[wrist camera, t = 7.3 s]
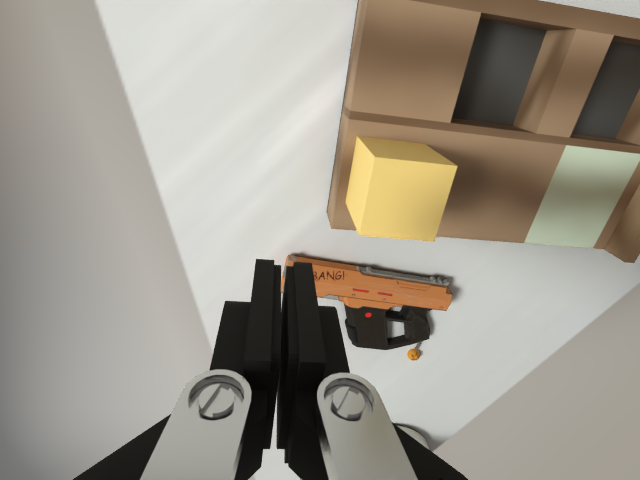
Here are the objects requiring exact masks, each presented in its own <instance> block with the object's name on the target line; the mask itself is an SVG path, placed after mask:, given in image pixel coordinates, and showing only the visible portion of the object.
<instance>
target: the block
mask: <svg viewBox="0 0 640 480" xmlns="http://www.w3.org/2000/svg"><path fill="white" fill-rule="evenodd" d="M456 170H457V165H455V164H454V163H452V162H451V161H449V160H448V159H446V158H445V157H443V156H442V155H440V154H439V153H437V152H436V151H434V150H433V149H431V148H430V147H429V146H427V145H426V144H421V143H413V142H404V141H395V140H387V139H378V138H370V137H361V136H357V138H356V144H355V150H354V156H353V161H352V167H351V173H350V179H349V184H348V190H347V196H346V202H345V203H346V205H347V208H348V210H349V212H350V215H351V217H352V220H353V222H354V225H355V227H356V229H357V232H358V234H359V236H369V237H383V238H396V239H409V240H422V241H435V238H436V234H437V231H438V228H439V225H440V221H441V218H442V215H443V212H444V208H445V205H446V202H447V199H448V196H449V192H450V189H451V186H452V183H453V179H454V176H455V173H456Z"/></svg>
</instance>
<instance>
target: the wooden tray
mask: <svg viewBox="0 0 640 480" xmlns="http://www.w3.org/2000/svg"><path fill="white" fill-rule="evenodd" d="M357 136H361V137H370V138H378V139H387V140H395V141H404V142H413V143H421V144H426V145H427V146H429V147H430V148H431V149H433V150H434V151H436V152H437V153H439V154H440V155H442V156H443V157H445V158H446V159H448V160H449V161H451V162H452V163H454V164H455V165H457V170H456V173H455V176H454V179H453V183H452V186H451V189H450V192H449V196H448V199H447V202H446V205H445V208H444V212H443V215H442V218H441V221H440V225H439V228H438V231H437V234H436V236H437V237H450V238H463V239H476V240H490V241H503V242H516V243H530V244H543V245H556V246H569V247H583V248H596V249H604V250H606V251H608V252H609V253H611V254H613V255H614V256H616V257H617V258H619V259H621V260H622V261H624V262H629V263H634V262H635V261H636V259H637V257H638V256H639V254H640V19H639V18H633V17H628V16H622V15H616V14H611V13H605V12H600V11H594V10H589V9H583V8H578V7H572V6H567V5H561V4H556V3H550V2H545V1H539V0H358V4H357V11H356V18H355V25H354V31H353V38H352V45H351V52H350V58H349V65H348V72H347V79H346V85H345V92H344V99H343V106H342V112H341V119H340V126H339V133H338V139H337V146H336V153H335V160H334V166H333V173H332V180H331V187H330V193H329V200H328V207H327V214H328V218H329V221H330V225H331V229H344V230H357V229H356V227H355V225H354V222H353V220H352V217H351V215H350V212H349V210H348V208H347V205H346V203H345V202H346V196H347V190H348V184H349V179H350V173H351V167H352V161H353V156H354V150H355V144H356V138H357Z"/></svg>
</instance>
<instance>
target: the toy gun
mask: <svg viewBox="0 0 640 480" xmlns="http://www.w3.org/2000/svg"><path fill="white" fill-rule="evenodd" d="M294 262H306V263H312V266H313V274H314V281H315V288H316V295H317V297H321V298H328V299H335V300H339V301H343V302H344V305H345V311H346V316H347V319H346V320H345V324H346V329H347V333H348V337H349V339H350V340H351V341H352V344H353V345H355V346H356V347H362V348H372V349H381V350H389V349H394V348H398V347H402V346H406V345H410V344H414V343H418V342H419V344H417V345H418V346H416V347H417V348H415V349H411V350H409V352H408V357H409V358H410V359H411V360H417V359H419V357H420V352H419V350H418V348H419V346H420V344H421V342H422V341H424V340H427V339H429V335H430V327H429V324H428V321H427V318H426V313H427V310H429V311H430V310H432V309H435V310H442V311H446V310H447V309H448V307H449V305H450V304H451V301H452V296H453V295H452V293H451V291H450V290H449V288H448V285H449V283H450V282H449V281H448V279H443V280H441V278H440V277H437V279H435V277H434V276H431V277H430V278H427V277H421V276H415V275H409V274H402V273H396V272H390V271H383V270H377V269H371V267H369V266H368V267H366V268H364V267H359V266H355V265H349V264H342V263H336V262H330V261H323V260H317V259H311V258H304V257H298V256H294V255H293V256H292V255H288V256H287V258H286V263H285V267H284V272H283V276H282V280H281V293H283V291H284V282H285V273H286V266H293V263H294ZM396 306H399V307H402V309H401V311H400V312H398V311H392V310H388V309H389V308H391V307H396ZM386 320H389V321H396V322H404V329H405V335H402V336H398V337H393V338H387V328H386Z"/></svg>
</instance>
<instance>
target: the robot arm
mask: <svg viewBox="0 0 640 480" xmlns="http://www.w3.org/2000/svg"><path fill="white" fill-rule="evenodd" d="M276 396H277V449H285V463H288V466H289V467H290V468H291V469H292V470H293V471H294V472H295V473H296V474H297V475H298V476H299V477H300V480H468V479H467V478H466V477H465V476H464V475H462V474H461V473H460V472H458V471H457V470H456V469H454V468H453V467H452V466H450V465H449V464H448V463H446V462H445V461H444V460H442V459H441V458H439V457H438V456H437V455H435V454H434V453H433V452H431V451H430V450H429V447H428V444H427V442H426V440H425V438H424V437H423V436H421V435H420V434H419V433H418V432H416V431H414V430H412V429H409V428H406V427H403V426H397V425H395V424H394V423H392V422H391V420H390V417H389V415H388V413H387V411H386V409H385V406H384V404H383V402H382V400H381V398H380V395H379V394H378V392H377V390H376V389H375V387H374V386H373V385H372V384H371V383H369V382H368V381H367V380H366V379H364V378H362V377H360V376H358V375H355V374H351V373H350V371H349V366H348V361H347V357H346V352H345V347H344V342H343V338H342V333H341V328H340V324H339V319H338V314H337V310H336V308H335V307H330V306H318V302H317V295H316V288H315V281H314V274H313V266H312V263H306V262H294V263H293V266H286V273H285V282H284V291H283V300H282V309H281V265H274V260H264V259H256V264H255V272H254V280H253V289H252V297H251V302H237V301H225V304H224V308H223V313H222V317H221V322H220V326H219V330H218V335H217V339H216V344H215V348H214V353H213V357H212V362H211V366H210V371H207V372H204V373H202V374H200V375H198V376H196V377H195V378H194V379H192V380H191V381H190V382H189V383H188V384H187V385H186V386H185V388H184V389H183V391H182V393H181V395H180V397H179V399H178V401H177V403H176V406H175V408H174V409H173V412H172V414H170V415H169V416H167V417H166V418H164V419H163V420H161V421H160V422H158V423H157V424H155V425H154V426H152V427H151V428H149V429H148V430H146V431H145V432H143V433H142V434H140V435H139V436H137V437H136V438H134V439H133V440H131V441H130V442H128V443H127V444H125V445H124V446H122V447H121V448H120V449H118V450H116V451H115V452H113V453H112V454H110V455H109V456H107V457H106V458H104V459H103V460H101V461H100V462H98V463H97V464H95V465H94V466H92V467H91V468H89V469H88V470H86V471H85V472H83V473H82V474H80V475H79V476H77V477H76V478H74V479H73V480H248V479H249V478H250V477H251V476H252V475H253V474H254V473H255V472H256V471H257V470H258V469H259V468H260V467H261V463H262V453H263V449H270V445H271V437H272V429H273V421H274V413H275V404H276Z"/></svg>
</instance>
